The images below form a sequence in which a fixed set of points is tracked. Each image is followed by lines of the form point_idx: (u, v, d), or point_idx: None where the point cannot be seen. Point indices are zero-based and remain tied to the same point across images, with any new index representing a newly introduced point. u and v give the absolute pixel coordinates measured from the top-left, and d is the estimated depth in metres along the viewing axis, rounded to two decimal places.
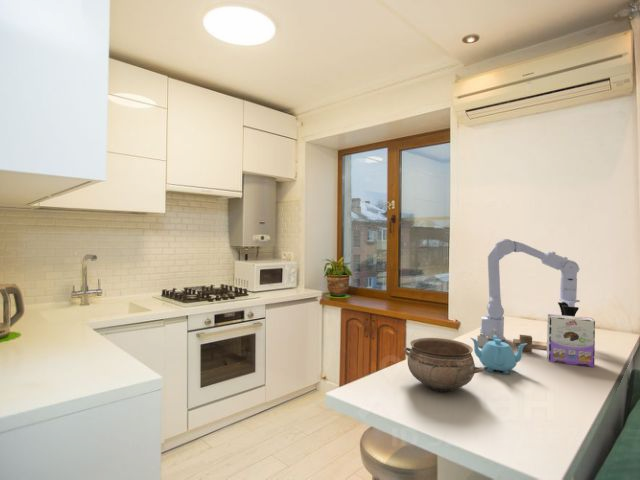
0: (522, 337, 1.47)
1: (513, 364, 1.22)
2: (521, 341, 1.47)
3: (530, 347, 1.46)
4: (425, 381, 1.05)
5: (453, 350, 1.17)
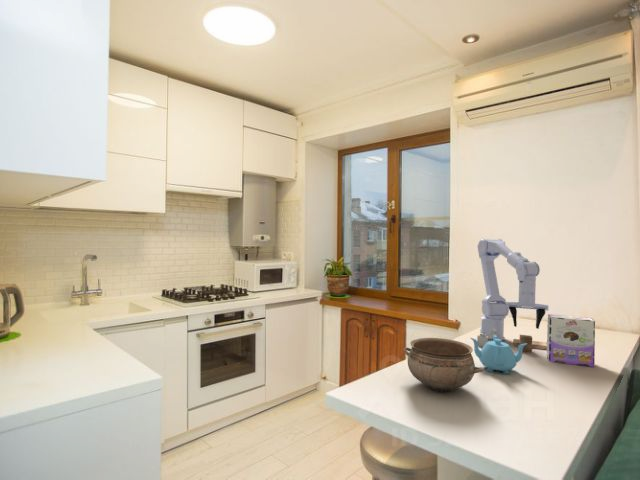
0: (522, 337, 1.47)
1: (513, 364, 1.22)
2: (521, 341, 1.47)
3: (530, 347, 1.46)
4: (425, 381, 1.05)
5: (453, 350, 1.17)
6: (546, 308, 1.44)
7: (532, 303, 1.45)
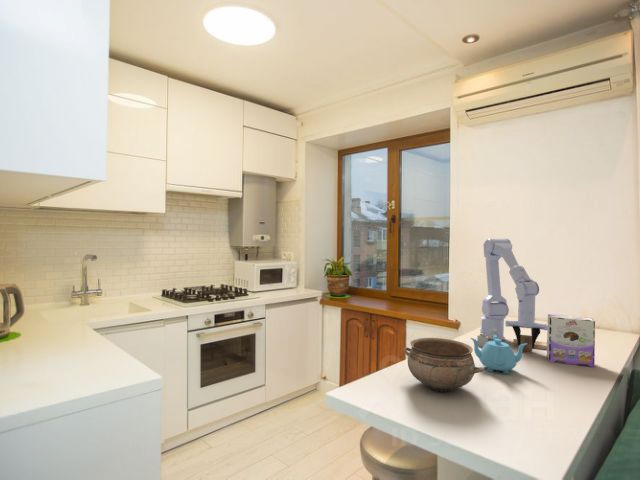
0: (522, 337, 1.47)
1: (513, 364, 1.22)
2: (521, 341, 1.47)
3: (530, 347, 1.46)
4: (425, 381, 1.05)
5: (453, 350, 1.17)
6: (545, 328, 1.44)
7: (531, 323, 1.45)
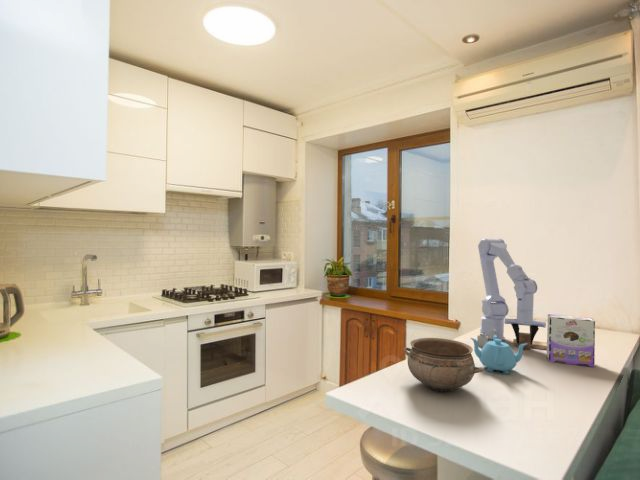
0: (521, 334, 1.50)
1: (513, 364, 1.22)
2: (520, 338, 1.50)
3: (528, 344, 1.49)
4: (425, 381, 1.05)
5: (453, 350, 1.17)
6: (543, 325, 1.48)
7: (530, 320, 1.48)
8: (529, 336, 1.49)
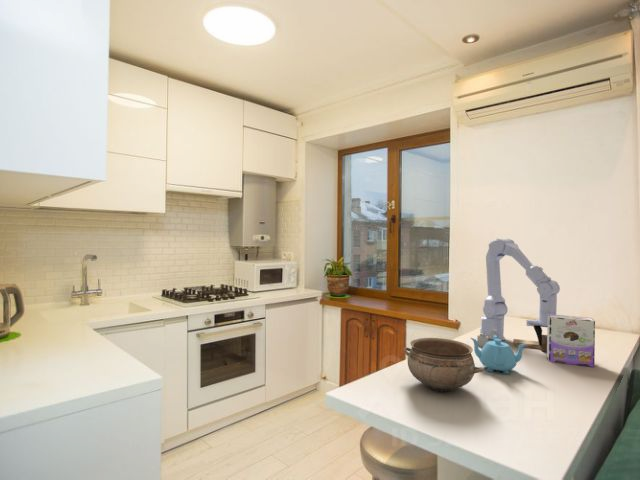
0: (544, 337, 1.48)
1: (513, 364, 1.22)
2: (543, 341, 1.48)
3: None
4: (425, 381, 1.05)
5: (453, 350, 1.17)
6: None
7: None
8: None
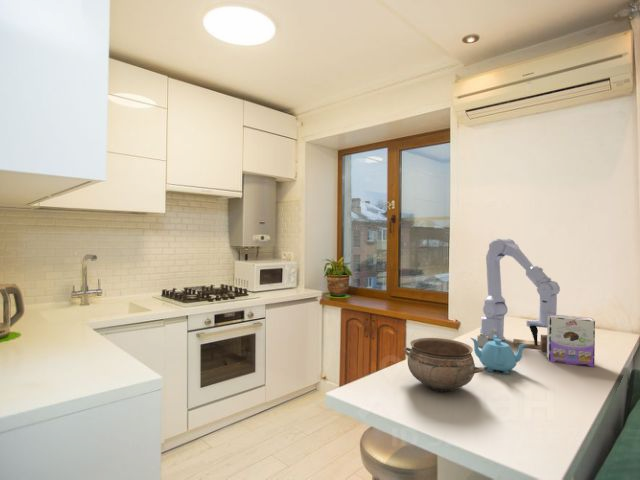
0: (544, 337, 1.47)
1: (513, 364, 1.22)
2: (543, 341, 1.48)
3: None
4: (425, 381, 1.05)
5: (453, 350, 1.17)
6: None
7: None
8: None
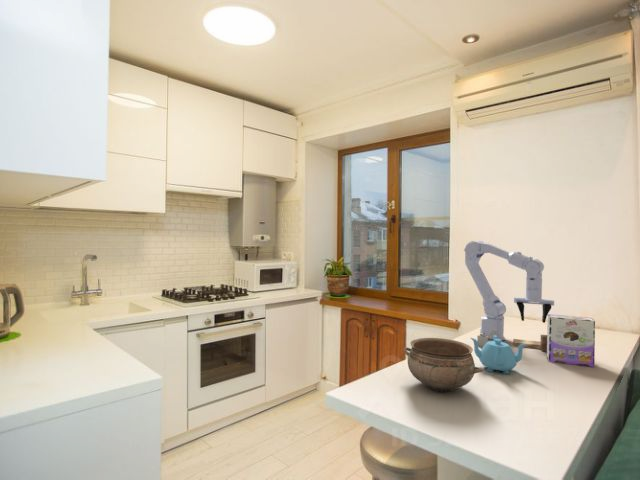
0: (544, 337, 1.47)
1: (513, 364, 1.22)
2: (543, 341, 1.48)
3: None
4: (425, 381, 1.05)
5: (453, 350, 1.17)
6: (552, 303, 1.53)
7: (539, 298, 1.53)
8: None
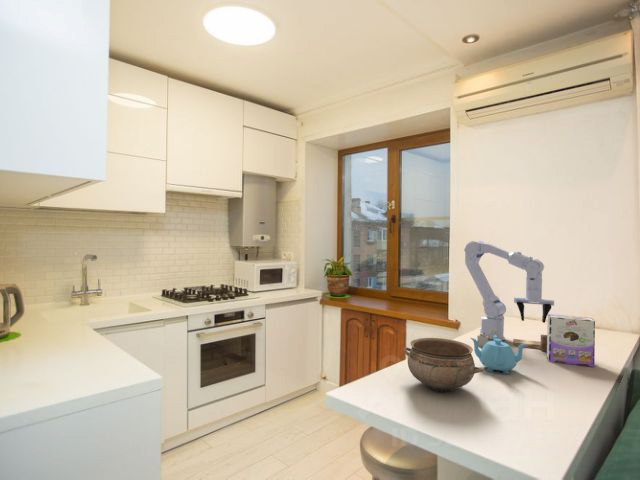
0: (544, 337, 1.47)
1: (513, 364, 1.22)
2: (543, 341, 1.48)
3: None
4: (425, 381, 1.05)
5: (453, 350, 1.17)
6: (552, 303, 1.53)
7: (539, 298, 1.53)
8: None
